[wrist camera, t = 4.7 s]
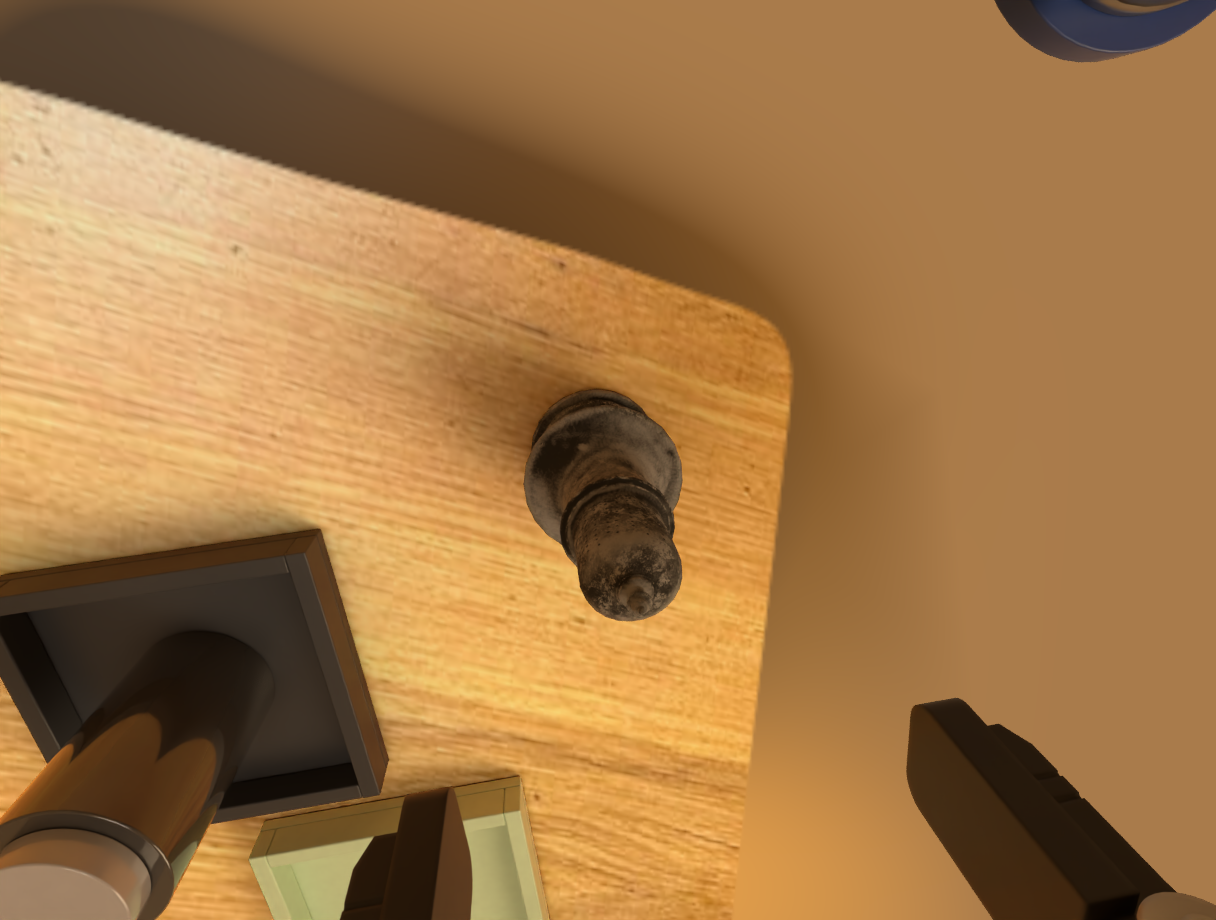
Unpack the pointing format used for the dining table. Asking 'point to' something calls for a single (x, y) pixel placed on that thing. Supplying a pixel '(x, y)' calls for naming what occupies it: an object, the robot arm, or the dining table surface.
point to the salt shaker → (609, 500)
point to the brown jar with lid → (135, 785)
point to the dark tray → (214, 602)
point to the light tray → (336, 839)
